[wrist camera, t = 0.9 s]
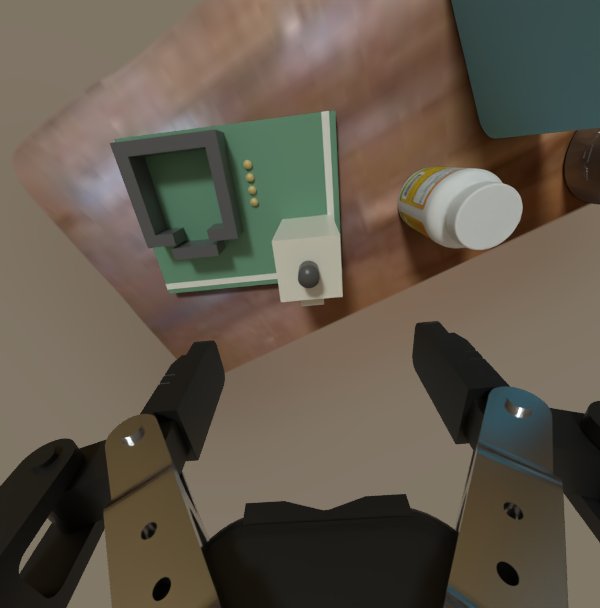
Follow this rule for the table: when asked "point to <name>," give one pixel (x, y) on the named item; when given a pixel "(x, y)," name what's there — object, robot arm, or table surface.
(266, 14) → the table surface
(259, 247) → the header board
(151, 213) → the frame
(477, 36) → the data package
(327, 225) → the plug
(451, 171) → the supplement bottle
